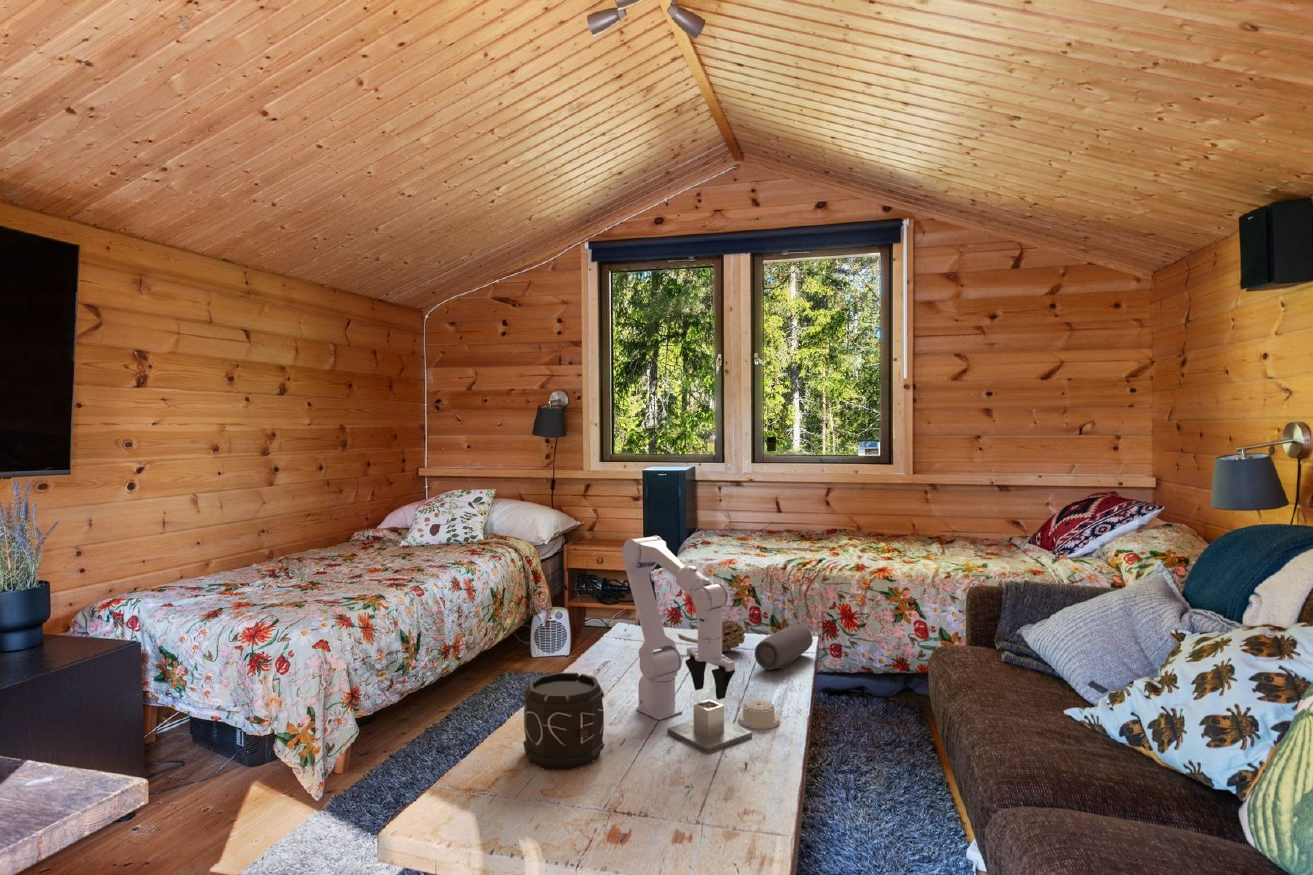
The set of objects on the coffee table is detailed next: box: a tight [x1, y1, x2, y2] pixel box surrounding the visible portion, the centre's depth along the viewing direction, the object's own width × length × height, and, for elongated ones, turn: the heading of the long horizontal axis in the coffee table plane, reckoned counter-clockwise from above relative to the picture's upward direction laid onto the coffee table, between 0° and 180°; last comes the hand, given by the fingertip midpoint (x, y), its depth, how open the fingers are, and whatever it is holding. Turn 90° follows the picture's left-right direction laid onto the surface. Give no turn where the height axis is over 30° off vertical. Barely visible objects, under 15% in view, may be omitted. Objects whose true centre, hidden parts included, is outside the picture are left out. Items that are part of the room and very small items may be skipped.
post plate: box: [666, 719, 753, 754], centre depth 178 cm, size 14×14×4 cm
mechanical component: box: [737, 698, 780, 730], centre depth 187 cm, size 10×4×10 cm
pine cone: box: [676, 619, 746, 652], centre depth 242 cm, size 22×10×10 cm, turn 98°
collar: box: [693, 699, 725, 736], centre depth 178 cm, size 5×5×6 cm
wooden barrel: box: [522, 672, 605, 771], centre depth 167 cm, size 18×18×16 cm
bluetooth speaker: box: [754, 623, 814, 670], centre depth 231 cm, size 23×9×10 cm, turn 144°
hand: (709, 693), depth 179 cm, fingers open, 7 cm apart
